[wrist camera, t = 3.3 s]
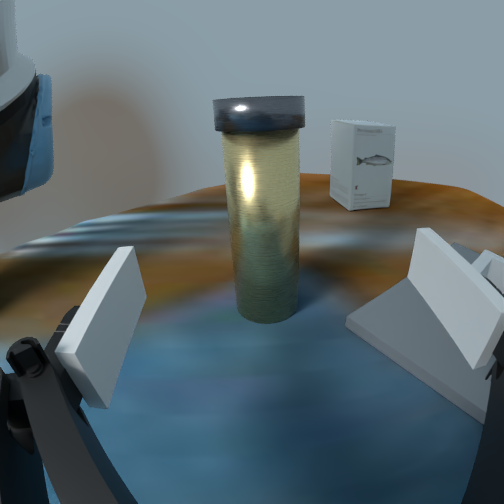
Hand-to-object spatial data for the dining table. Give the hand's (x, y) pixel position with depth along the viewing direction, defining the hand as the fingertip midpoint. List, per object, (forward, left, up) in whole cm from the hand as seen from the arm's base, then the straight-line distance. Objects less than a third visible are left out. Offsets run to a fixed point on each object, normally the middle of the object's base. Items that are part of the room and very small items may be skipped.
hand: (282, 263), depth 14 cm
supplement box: (-20, +30, -9) cm, 37 cm away
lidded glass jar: (-8, +4, -9) cm, 13 cm away
